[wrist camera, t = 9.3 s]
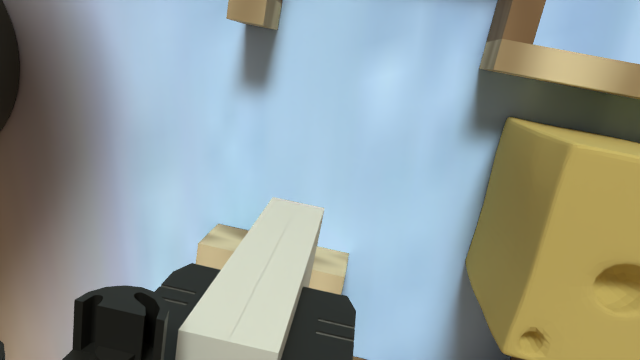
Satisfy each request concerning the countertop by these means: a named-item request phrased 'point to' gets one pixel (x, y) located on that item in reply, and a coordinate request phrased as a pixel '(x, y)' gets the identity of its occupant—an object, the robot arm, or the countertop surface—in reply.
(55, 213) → the countertop surface
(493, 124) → the countertop surface
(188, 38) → the countertop surface
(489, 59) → the trap lane
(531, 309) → the cheese
